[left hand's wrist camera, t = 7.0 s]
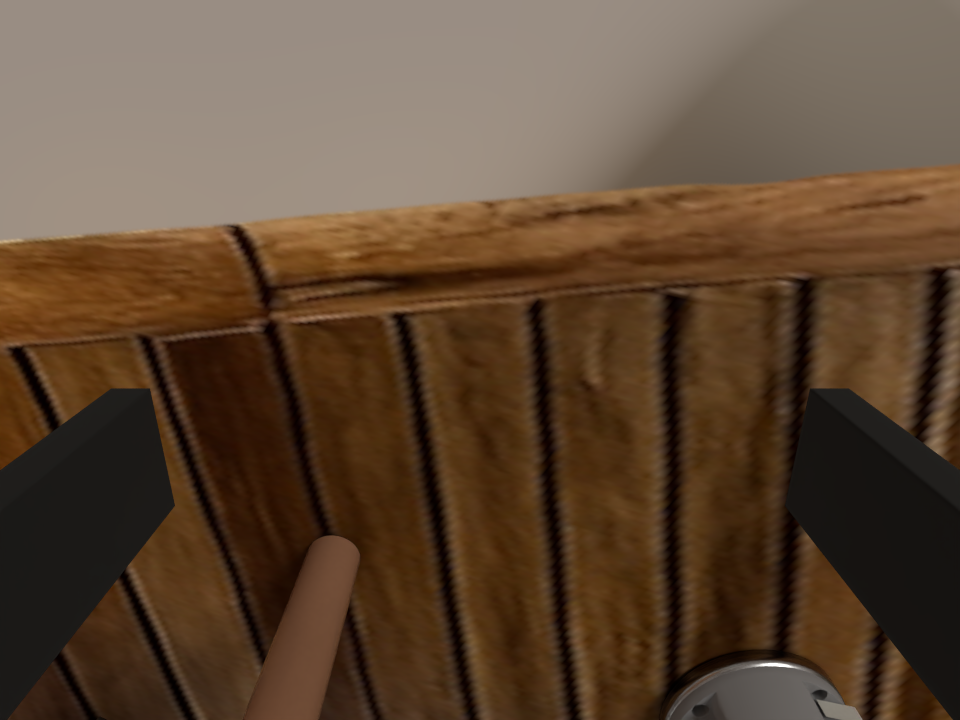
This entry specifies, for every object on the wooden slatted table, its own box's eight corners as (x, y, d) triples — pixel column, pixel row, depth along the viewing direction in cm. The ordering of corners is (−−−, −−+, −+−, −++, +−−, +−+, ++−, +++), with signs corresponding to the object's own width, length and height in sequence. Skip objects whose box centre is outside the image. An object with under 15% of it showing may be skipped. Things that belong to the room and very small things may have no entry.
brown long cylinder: (298, 542, 47) (196, 789, 30) (348, 529, 46) (273, 772, 29) (319, 583, 48) (233, 840, 31) (368, 570, 48) (307, 824, 31)
